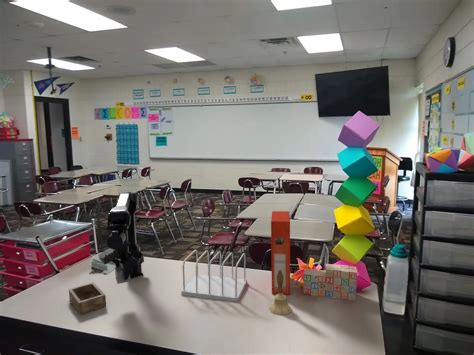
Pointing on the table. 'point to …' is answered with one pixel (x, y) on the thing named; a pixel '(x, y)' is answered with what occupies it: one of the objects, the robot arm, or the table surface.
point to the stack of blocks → (331, 282)
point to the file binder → (280, 249)
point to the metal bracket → (102, 265)
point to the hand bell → (280, 299)
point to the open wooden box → (87, 298)
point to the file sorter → (215, 282)
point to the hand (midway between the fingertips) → (123, 277)
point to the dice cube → (120, 276)
